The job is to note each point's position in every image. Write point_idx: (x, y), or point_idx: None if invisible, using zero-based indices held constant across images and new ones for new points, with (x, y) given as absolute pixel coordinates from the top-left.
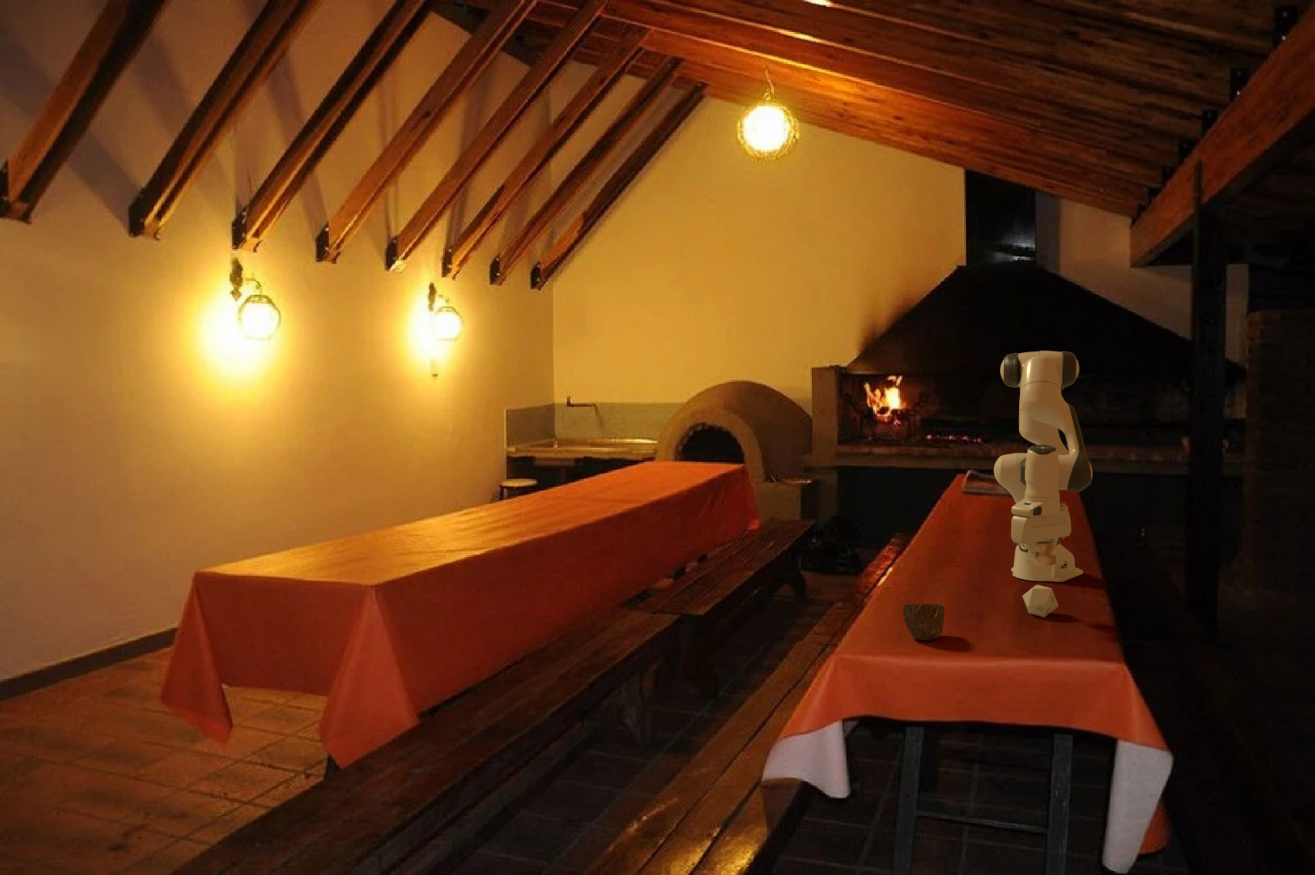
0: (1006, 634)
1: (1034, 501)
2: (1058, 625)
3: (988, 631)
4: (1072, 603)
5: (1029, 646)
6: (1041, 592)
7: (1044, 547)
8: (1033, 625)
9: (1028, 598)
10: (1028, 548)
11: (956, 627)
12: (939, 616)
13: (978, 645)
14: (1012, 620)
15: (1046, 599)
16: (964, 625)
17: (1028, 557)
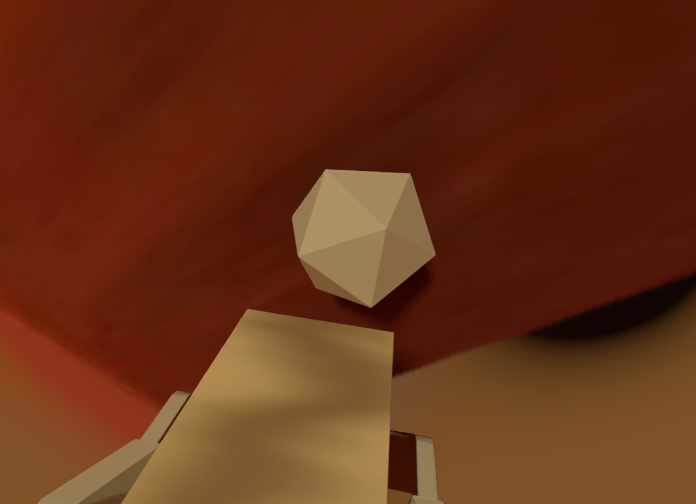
0: (122, 251)
1: None
2: (306, 302)
3: (90, 202)
4: (616, 213)
5: (118, 327)
6: (321, 280)
7: None
8: (247, 258)
9: (299, 220)
10: (99, 470)
11: (11, 103)
12: None
13: (7, 252)
14: (232, 185)
15: (322, 289)
16: (48, 107)
17: (225, 348)
